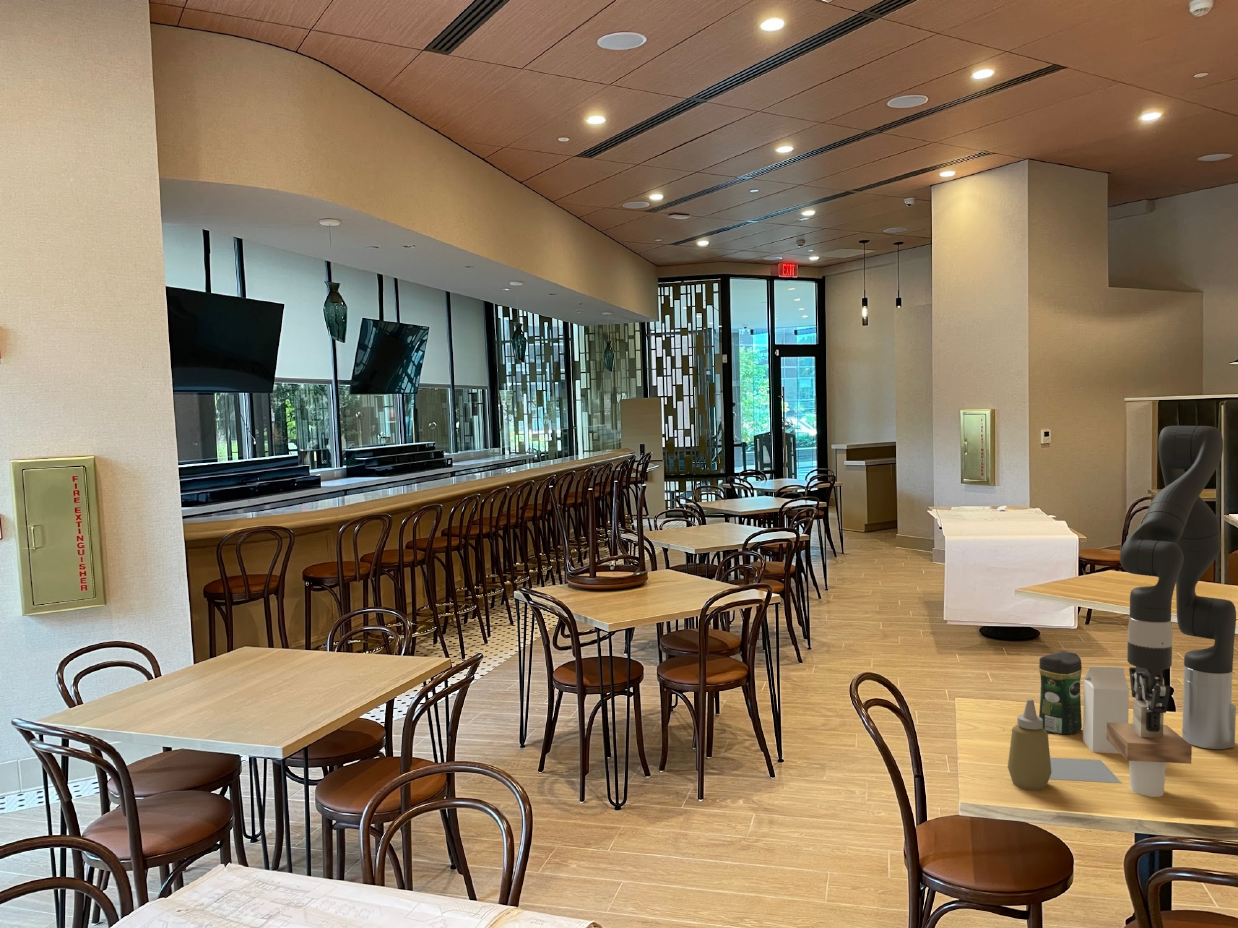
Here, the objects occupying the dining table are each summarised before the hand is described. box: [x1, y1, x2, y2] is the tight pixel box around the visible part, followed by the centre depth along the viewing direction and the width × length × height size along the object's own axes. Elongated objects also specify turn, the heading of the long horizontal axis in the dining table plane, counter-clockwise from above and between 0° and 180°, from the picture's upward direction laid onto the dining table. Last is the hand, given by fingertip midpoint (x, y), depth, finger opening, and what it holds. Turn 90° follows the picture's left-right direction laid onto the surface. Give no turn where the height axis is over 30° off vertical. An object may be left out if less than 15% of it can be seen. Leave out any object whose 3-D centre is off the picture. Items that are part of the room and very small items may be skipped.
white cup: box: [1128, 761, 1167, 798], centre depth 176 cm, size 7×7×10 cm
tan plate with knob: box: [1107, 699, 1193, 765], centre depth 176 cm, size 11×11×10 cm
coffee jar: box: [1038, 650, 1083, 736], centre depth 212 cm, size 10×8×19 cm
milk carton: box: [1082, 665, 1130, 755], centre depth 199 cm, size 7×7×19 cm
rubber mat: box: [1049, 756, 1122, 784], centre depth 187 cm, size 14×12×1 cm
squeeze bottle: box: [1007, 698, 1052, 791], centre depth 180 cm, size 8×8×18 cm
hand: (1148, 726), depth 176 cm, fingers closed on tan plate with knob, 4 cm apart
